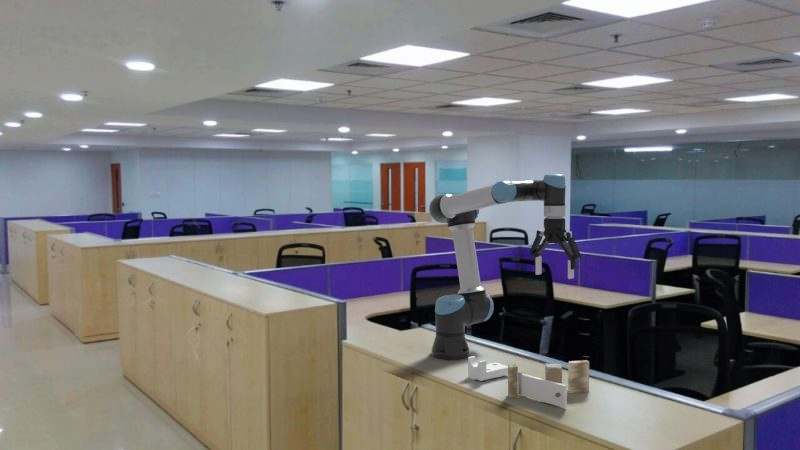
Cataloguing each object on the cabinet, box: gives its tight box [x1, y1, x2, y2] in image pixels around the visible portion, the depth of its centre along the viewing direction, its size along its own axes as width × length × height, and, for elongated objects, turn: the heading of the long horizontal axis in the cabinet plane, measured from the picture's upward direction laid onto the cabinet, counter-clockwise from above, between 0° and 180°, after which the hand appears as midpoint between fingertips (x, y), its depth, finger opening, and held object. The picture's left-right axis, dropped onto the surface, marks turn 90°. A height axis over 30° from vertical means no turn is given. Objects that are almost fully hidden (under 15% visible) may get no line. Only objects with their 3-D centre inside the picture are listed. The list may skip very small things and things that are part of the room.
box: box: [544, 362, 563, 384], centre depth 192 cm, size 5×4×11 cm
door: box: [518, 371, 568, 409], centre depth 190 cm, size 17×2×7 cm, turn 44°
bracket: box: [467, 355, 508, 382], centre depth 215 cm, size 13×7×8 cm, turn 120°
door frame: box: [507, 359, 590, 399], centre depth 197 cm, size 27×3×10 cm, turn 99°
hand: (554, 276), depth 219 cm, fingers open, 13 cm apart
